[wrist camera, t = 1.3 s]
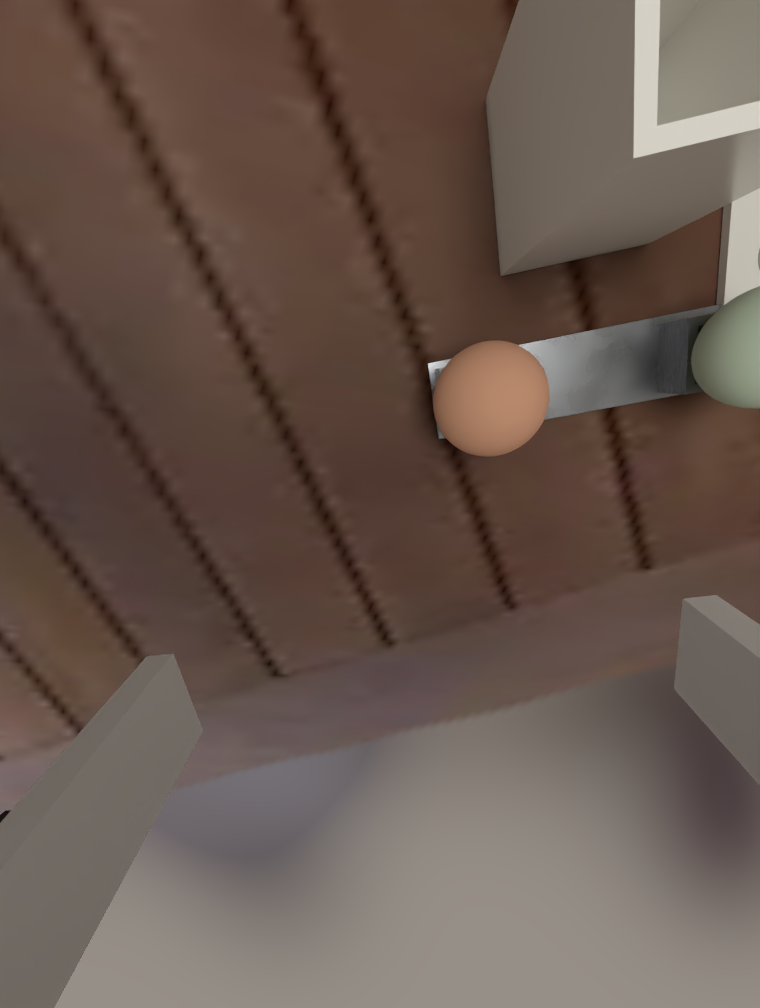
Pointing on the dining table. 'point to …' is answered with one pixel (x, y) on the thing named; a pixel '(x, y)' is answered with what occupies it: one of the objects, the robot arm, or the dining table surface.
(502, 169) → the open square box
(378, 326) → the dining table surface
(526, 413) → the ball terracotta
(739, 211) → the card
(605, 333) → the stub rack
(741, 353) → the ball sage
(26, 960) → the robot arm
